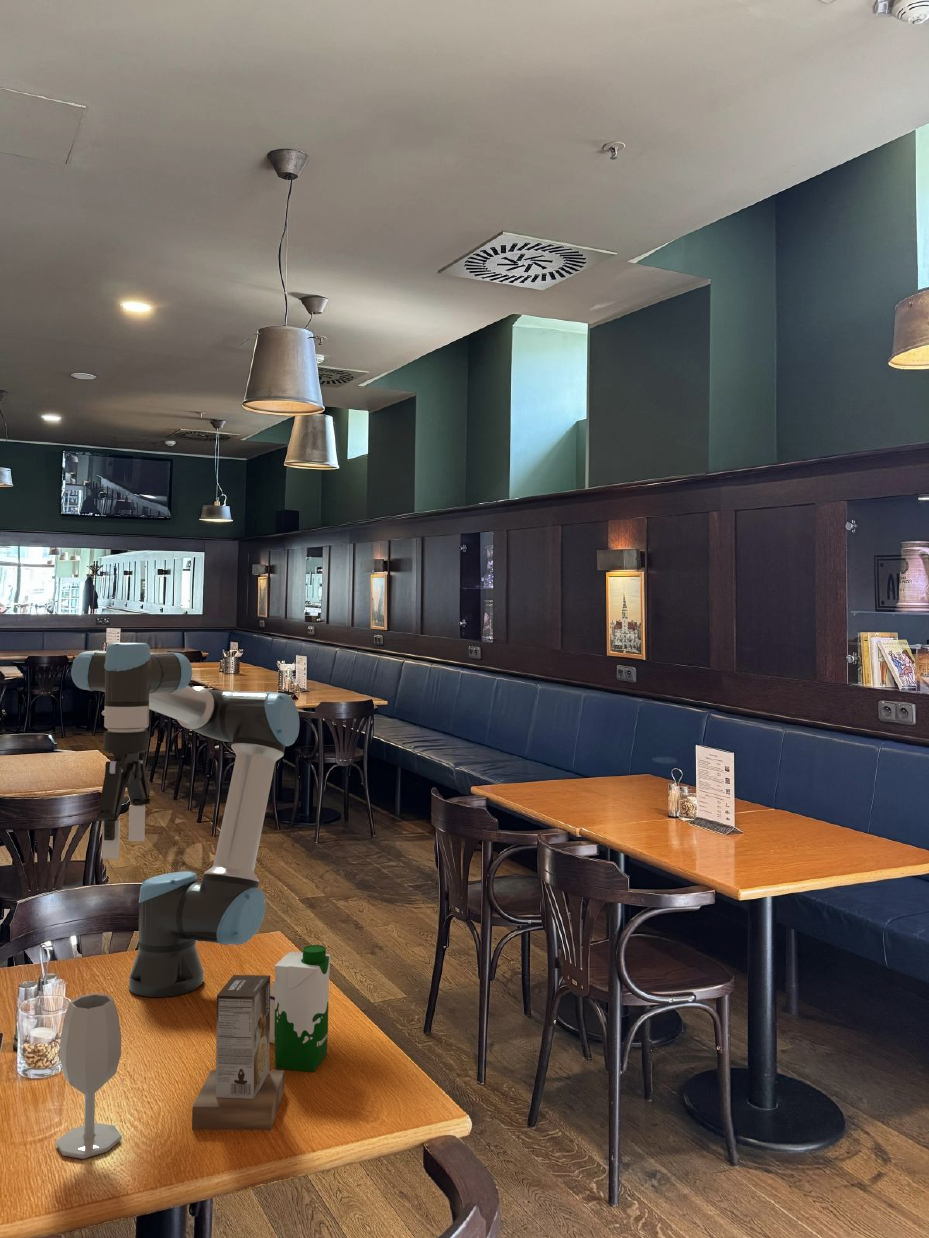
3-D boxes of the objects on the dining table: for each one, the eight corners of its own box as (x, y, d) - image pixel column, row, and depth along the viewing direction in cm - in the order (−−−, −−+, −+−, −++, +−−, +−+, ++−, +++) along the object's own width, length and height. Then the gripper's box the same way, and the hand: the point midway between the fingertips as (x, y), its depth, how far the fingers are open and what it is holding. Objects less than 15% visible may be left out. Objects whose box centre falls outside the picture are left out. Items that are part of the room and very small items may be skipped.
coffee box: (231, 1070, 157) (233, 973, 157) (270, 1072, 157) (271, 974, 157) (214, 1098, 148) (215, 994, 148) (255, 1100, 148) (256, 995, 148)
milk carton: (317, 1075, 164) (319, 957, 164) (267, 1070, 165) (269, 954, 166) (333, 1052, 172) (334, 941, 173) (285, 1048, 174) (287, 938, 174)
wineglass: (44, 1147, 140) (47, 1003, 140) (96, 1122, 147) (99, 985, 147) (80, 1166, 135) (83, 1017, 135) (133, 1140, 142) (135, 998, 143)
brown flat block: (210, 1094, 158) (210, 1070, 158) (283, 1094, 158) (284, 1070, 158) (191, 1132, 146) (192, 1106, 146) (271, 1132, 146) (271, 1106, 146)
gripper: (128, 722, 182) (126, 834, 182) (78, 737, 157) (75, 866, 157) (168, 722, 183) (166, 834, 182) (124, 737, 158) (121, 866, 157)
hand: (124, 849), depth 170 cm, fingers open, 13 cm apart
